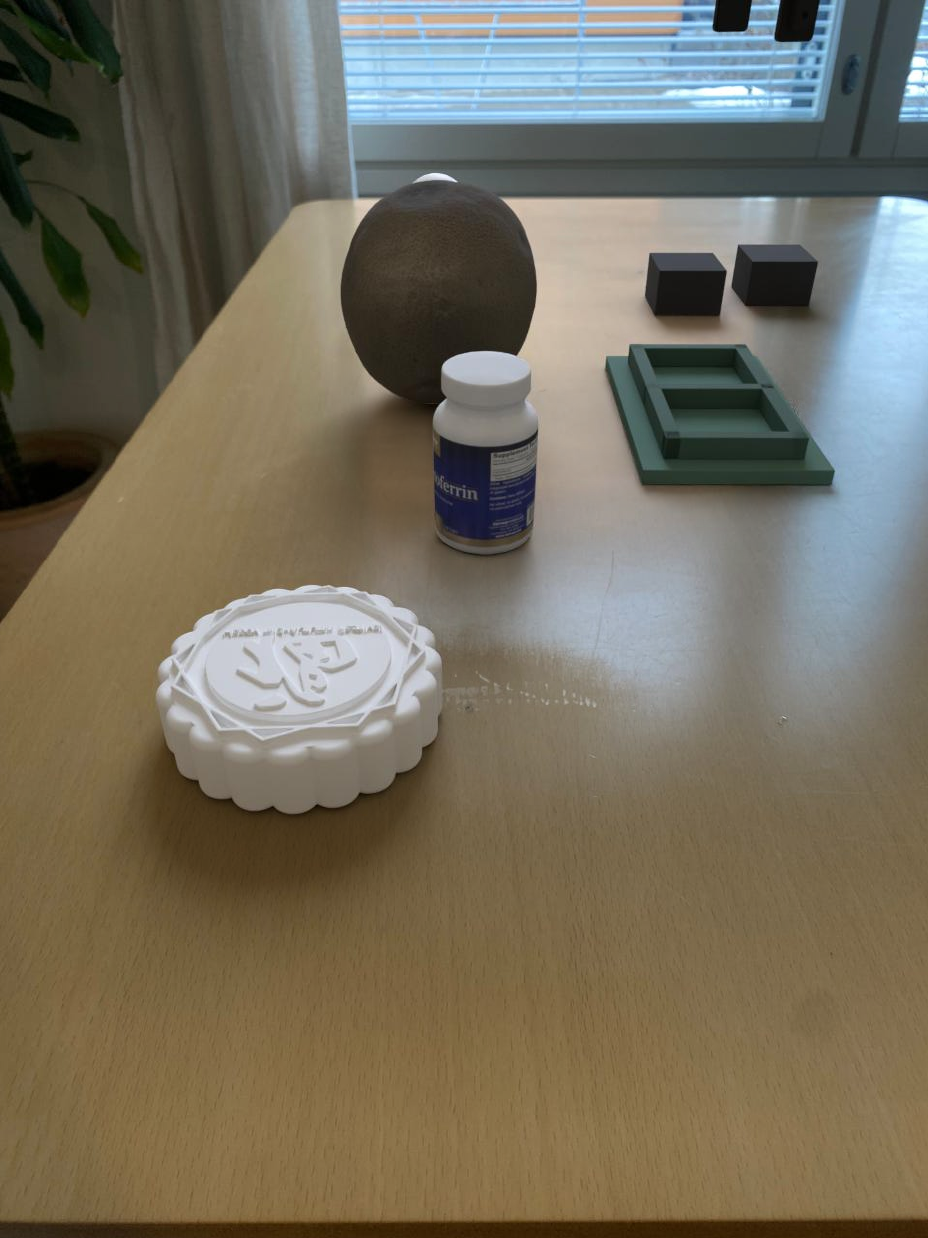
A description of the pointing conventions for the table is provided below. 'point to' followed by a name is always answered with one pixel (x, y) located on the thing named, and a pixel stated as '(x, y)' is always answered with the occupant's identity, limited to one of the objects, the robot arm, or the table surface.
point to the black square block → (685, 283)
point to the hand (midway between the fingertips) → (759, 35)
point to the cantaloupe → (436, 284)
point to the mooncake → (300, 698)
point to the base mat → (710, 418)
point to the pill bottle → (485, 453)
